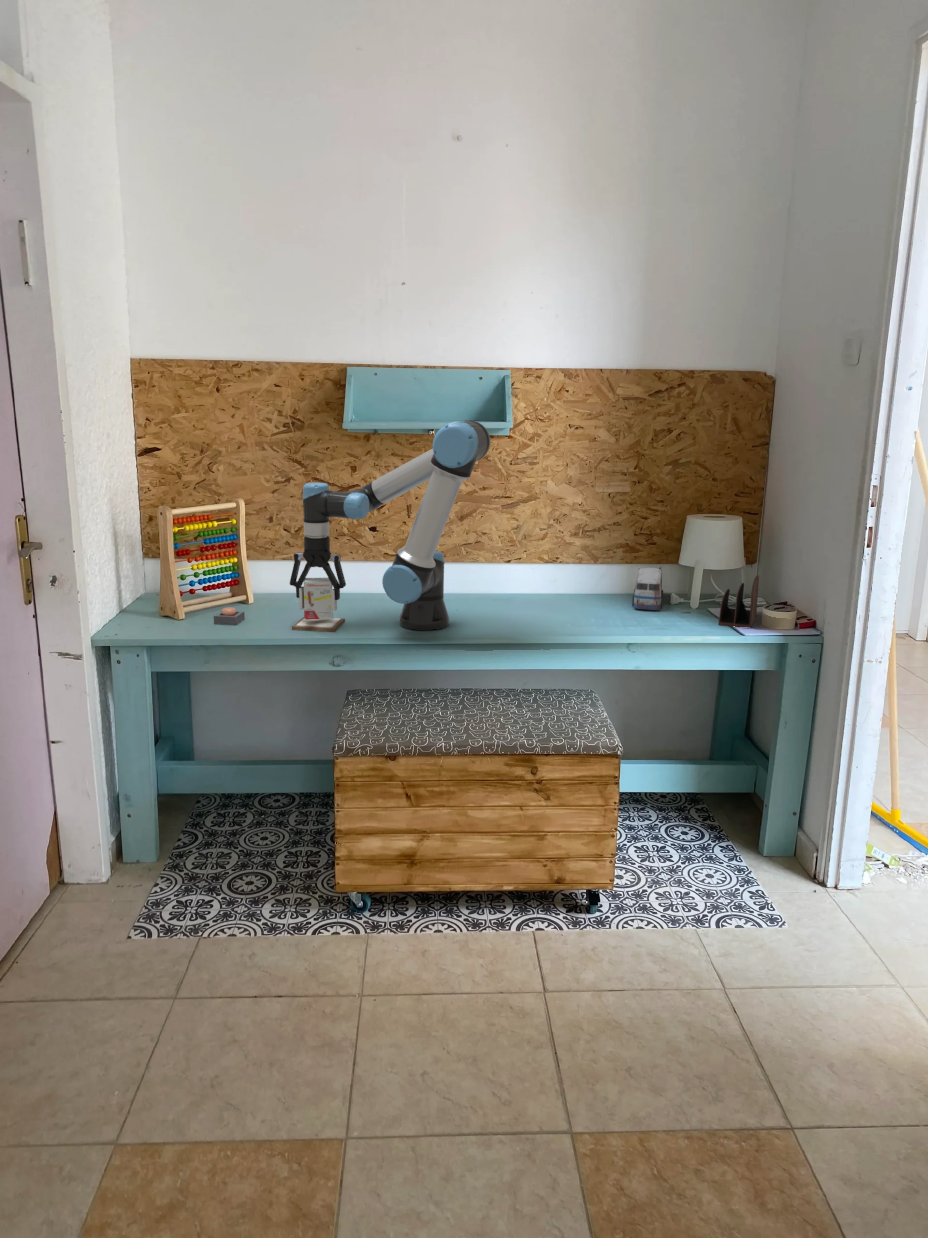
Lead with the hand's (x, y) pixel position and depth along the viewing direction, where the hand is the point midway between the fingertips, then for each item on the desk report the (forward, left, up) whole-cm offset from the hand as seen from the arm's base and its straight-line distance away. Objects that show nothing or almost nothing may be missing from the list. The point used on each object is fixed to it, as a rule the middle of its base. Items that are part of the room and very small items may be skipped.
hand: (318, 609), depth 275 cm
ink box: (0, 0, -3) cm, 3 cm away
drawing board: (0, 0, -5) cm, 5 cm away
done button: (+28, +1, -4) cm, 28 cm away
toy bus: (-101, -51, -6) cm, 113 cm away
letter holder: (-128, -34, -6) cm, 133 cm away
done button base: (+28, +1, -5) cm, 28 cm away
